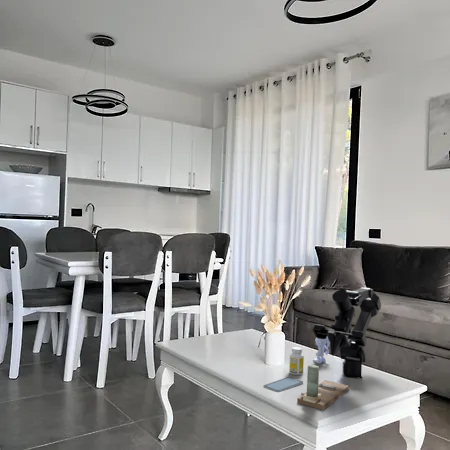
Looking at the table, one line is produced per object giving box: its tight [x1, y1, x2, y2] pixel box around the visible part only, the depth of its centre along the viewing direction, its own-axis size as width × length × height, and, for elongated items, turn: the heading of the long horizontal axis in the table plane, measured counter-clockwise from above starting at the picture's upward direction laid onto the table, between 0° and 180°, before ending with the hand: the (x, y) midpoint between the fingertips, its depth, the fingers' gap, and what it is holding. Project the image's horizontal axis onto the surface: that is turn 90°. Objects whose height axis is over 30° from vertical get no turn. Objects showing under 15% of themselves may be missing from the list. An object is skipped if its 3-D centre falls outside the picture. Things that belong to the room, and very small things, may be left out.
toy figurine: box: [312, 337, 330, 364], centre depth 197 cm, size 7×6×12 cm
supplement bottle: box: [288, 346, 305, 376], centre depth 181 cm, size 5×5×10 cm
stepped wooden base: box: [296, 380, 350, 411], centre depth 156 cm, size 24×9×2 cm, turn 146°
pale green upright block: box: [300, 364, 321, 403], centre depth 149 cm, size 5×6×10 cm
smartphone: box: [263, 376, 304, 393], centre depth 166 cm, size 7×1×15 cm
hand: (332, 355), depth 162 cm, fingers closed
